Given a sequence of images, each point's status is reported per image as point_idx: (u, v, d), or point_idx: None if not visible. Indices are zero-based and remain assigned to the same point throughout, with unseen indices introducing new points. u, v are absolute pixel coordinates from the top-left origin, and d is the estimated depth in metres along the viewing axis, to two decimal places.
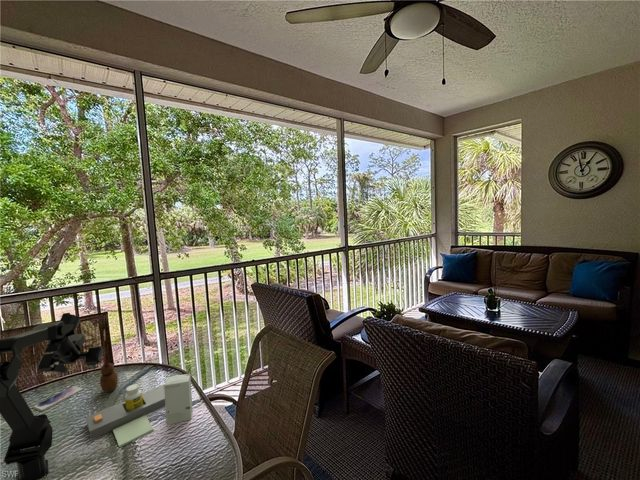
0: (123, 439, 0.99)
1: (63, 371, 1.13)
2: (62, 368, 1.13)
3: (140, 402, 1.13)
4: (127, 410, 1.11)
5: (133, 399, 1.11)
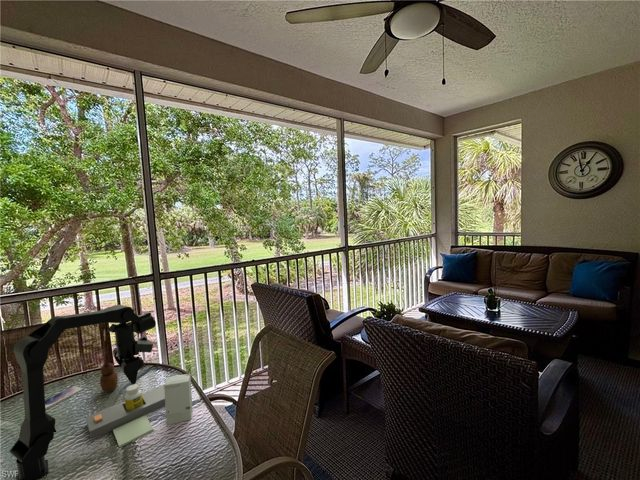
0: (123, 439, 0.99)
1: None
2: None
3: (140, 402, 1.13)
4: (127, 410, 1.11)
5: (133, 399, 1.11)
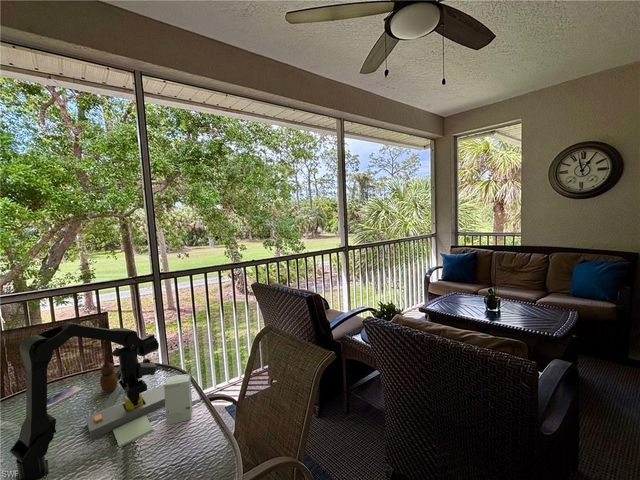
0: (123, 439, 0.99)
1: None
2: None
3: (140, 402, 1.13)
4: (127, 410, 1.11)
5: None
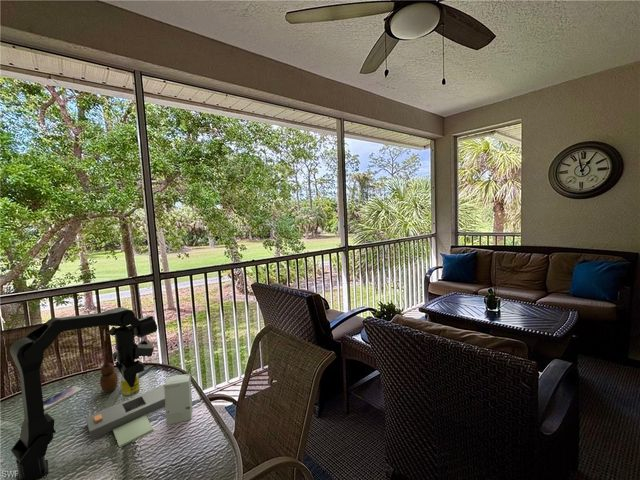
0: (123, 439, 0.99)
1: None
2: None
3: (137, 384, 1.10)
4: (123, 392, 1.08)
5: None
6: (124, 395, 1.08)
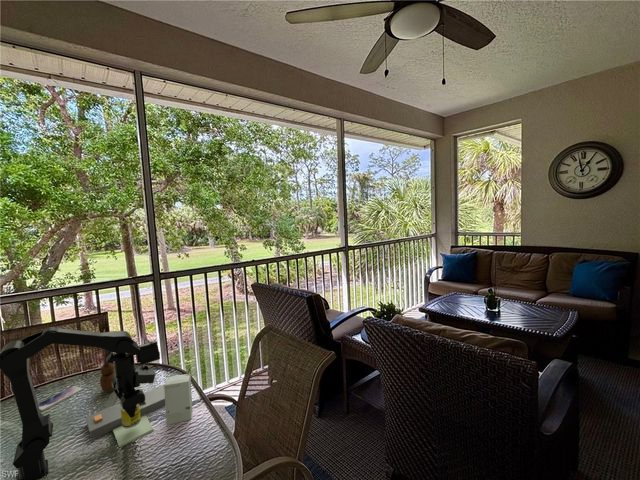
0: (123, 439, 0.99)
1: None
2: None
3: (137, 413, 1.03)
4: (123, 422, 1.01)
5: None
6: (124, 426, 1.01)
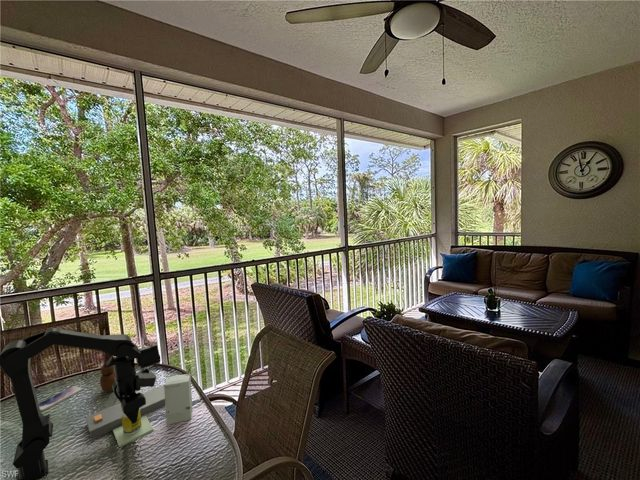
0: (123, 439, 0.99)
1: None
2: None
3: (138, 419, 1.03)
4: (124, 428, 1.01)
5: None
6: (125, 432, 1.01)
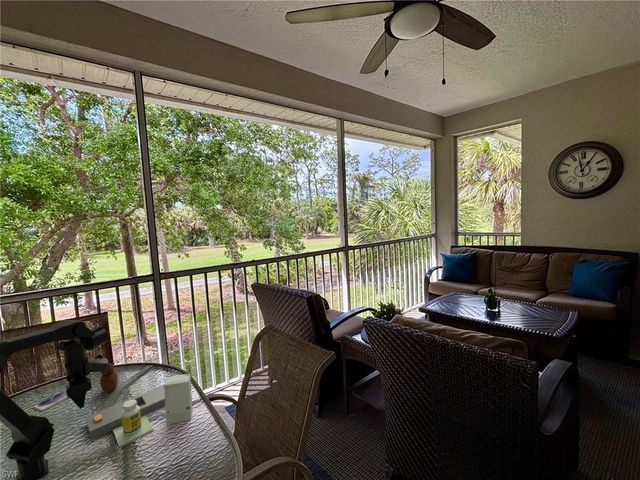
0: (123, 439, 0.99)
1: None
2: None
3: (138, 419, 1.03)
4: (124, 428, 1.01)
5: (130, 417, 1.00)
6: (125, 432, 1.01)
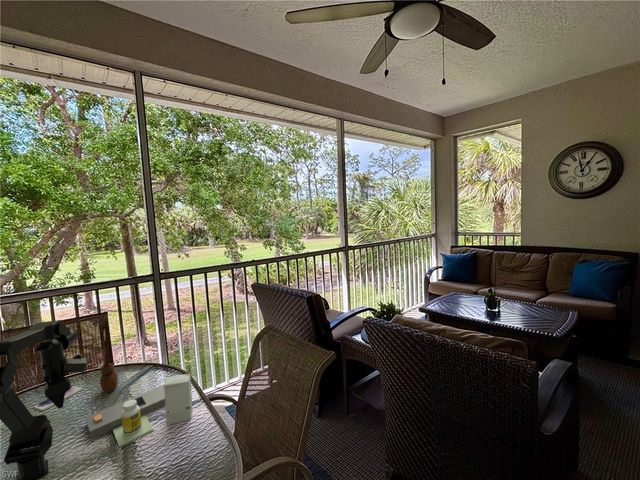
0: (123, 439, 0.99)
1: None
2: None
3: (138, 419, 1.03)
4: (124, 428, 1.01)
5: (130, 417, 1.00)
6: (125, 432, 1.01)
